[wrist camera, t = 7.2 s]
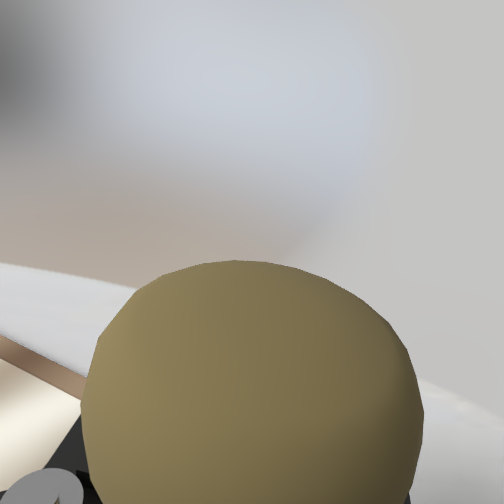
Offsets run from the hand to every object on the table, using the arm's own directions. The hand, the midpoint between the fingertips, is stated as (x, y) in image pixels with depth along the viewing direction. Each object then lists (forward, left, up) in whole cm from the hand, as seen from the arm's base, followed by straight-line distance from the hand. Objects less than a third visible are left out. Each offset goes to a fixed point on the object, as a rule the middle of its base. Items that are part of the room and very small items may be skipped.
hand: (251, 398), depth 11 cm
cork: (-1, +3, -7) cm, 7 cm away
